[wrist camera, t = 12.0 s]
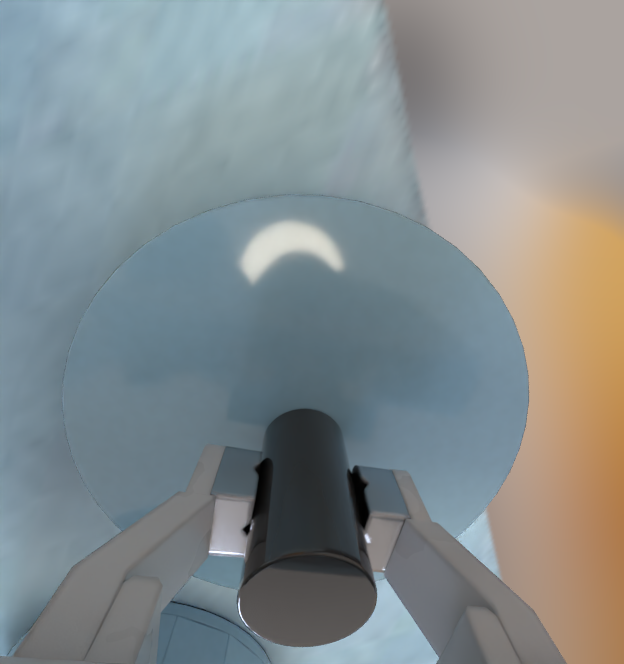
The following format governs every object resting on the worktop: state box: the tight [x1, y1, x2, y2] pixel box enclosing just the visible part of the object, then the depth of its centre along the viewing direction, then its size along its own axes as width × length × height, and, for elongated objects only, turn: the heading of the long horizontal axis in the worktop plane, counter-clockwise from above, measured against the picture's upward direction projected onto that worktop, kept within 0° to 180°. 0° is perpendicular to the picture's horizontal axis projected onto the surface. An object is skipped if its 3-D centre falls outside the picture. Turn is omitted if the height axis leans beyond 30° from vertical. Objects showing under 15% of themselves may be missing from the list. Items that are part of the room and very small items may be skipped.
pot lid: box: [62, 195, 529, 647], centre depth 8 cm, size 15×15×6 cm
